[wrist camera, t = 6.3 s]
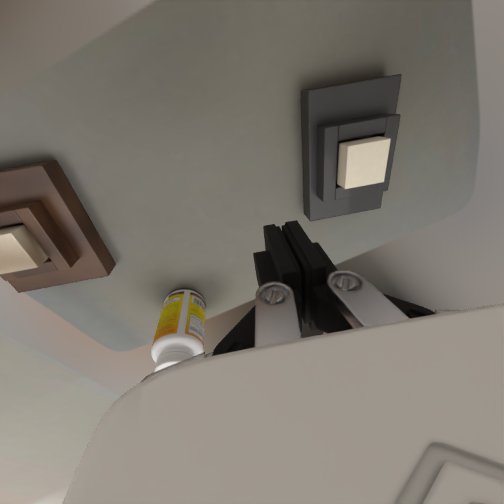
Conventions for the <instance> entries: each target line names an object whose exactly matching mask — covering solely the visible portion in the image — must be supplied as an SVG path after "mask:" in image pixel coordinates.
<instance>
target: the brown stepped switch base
mask: <svg viewBox="0 0 504 504" xmlns="http://www.w3.org/2000/svg"><path fill="white" fill-rule="evenodd" d="M23 224H25V226H26V227H27V228H28V230H29V231H30V232H31V234H32V235H33V236H34V238H35V239H36V240H37V242H38V243H39V244H40V246H41V247H42V249H43V250H44V251H45V253H46V254H47V255H48V257H49V258H48V259H47V260H46V261H44V262H43V263H42V264H41V265H40V266H39V267H37V268H32V269H27V270H21V271H16V272H11V273H5V274H0V276H1V277H2V278H3V279H4V280H5V281H8V282H9V283H10V284H11V285H12V286H13V287H14V288H15V289H16V290H17V291H18V292H19V293H20V292H26V291H31V290H36V289H41V288H47V287H52V286H57V285H62V284H68V283H73V282H78V281H83V280H89V279H94V278H99V277H104V276H109V274H110V273H111V271H112V270H113V268H114V267H115V265H116V264H115V262H114V261H113V259H112V257H111V255H110V254H109V252H108V250H107V248H106V246H105V245H104V243H103V241H102V239H101V238H100V236H99V234H98V232H97V231H96V229H95V227H94V225H93V224H92V222H91V220H90V218H89V217H88V215H87V213H86V211H85V210H84V208H83V206H82V204H81V202H80V201H79V199H78V197H77V195H76V194H75V192H74V190H73V188H72V187H71V185H70V183H69V181H68V180H67V178H66V176H65V174H64V173H63V171H62V169H61V167H60V166H59V164H58V162H57V160H54V161H49V162H43V163H37V164H32V165H26V166H21V167H15V168H9V169H4V170H0V229H2V228H7V227H12V226H18V225H23Z"/></svg>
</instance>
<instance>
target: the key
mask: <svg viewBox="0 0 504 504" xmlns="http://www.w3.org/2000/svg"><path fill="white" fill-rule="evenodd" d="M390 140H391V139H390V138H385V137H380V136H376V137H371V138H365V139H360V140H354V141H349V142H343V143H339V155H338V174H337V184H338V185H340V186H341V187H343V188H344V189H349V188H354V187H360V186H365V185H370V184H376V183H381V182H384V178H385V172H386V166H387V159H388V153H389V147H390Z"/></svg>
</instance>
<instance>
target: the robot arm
mask: <svg viewBox="0 0 504 504" xmlns="http://www.w3.org/2000/svg"><path fill="white" fill-rule="evenodd" d="M264 238H265V248H266V251H262V252H256V253H253V255H254V262H255V269H256V275H257V280H258V285H259V288H258V290H257V292H256V305H255V306H254V307H253V308H252V309H251V310H250V311H249V313H247V315H245V317H244V318H243V319H242V320H241V321H240V322H239V323H238V324H237V325H236V326H235V327H234V328H233V329H232V330H231V331H230V332H229V333H228V334H227V335H226V336H225V337H224V338H223V340H222V341H221V342H220V343H219V344H218V345H217V346H216V348H215V349H214V352H211V353H209V354H206V355H205V352H203V353H201V354H198V355H196V356H193V357H191V358H188V359H186V360H183V361H181V362H178V363H176V364H173V365H171V366H168V367H166V368H163V369H161V370H158V371H156V372H153V373H151V374H150V375H148V376H146V377H145V378H144V379H143V380H142V381H141V382H140V383H139V384H137V385H136V386H134V387H133V388H131V389H130V390H129V391H127V392H126V393H125V394H124V395H122V396H121V397H120V398H119V399H118V400H117V401H115V402H114V403H113V404H112V406H111V407H110V408H109V409H108V411H107V412H106V413H105V415H104V416H103V418H102V419H101V421H100V422H99V424H98V426H97V427H96V429H95V431H94V433H93V435H92V437H91V439H90V441H89V443H88V445H87V447H86V449H85V451H84V453H83V456H82V458H81V460H80V462H79V465H78V467H77V469H76V472H75V474H74V476H73V479H72V481H71V484H70V486H69V488H68V491H67V493H66V496H65V498H64V501H63V503H62V504H504V304H497V305H489V306H482V307H476V308H470V309H464V310H435V313H434V312H433V311H431V310H429V309H427V308H424V307H422V306H418V305H416V304H413V303H409V302H406V301H403V300H400V299H397V298H394V297H391V296H388V295H385V294H382V293H381V292H380V291H379V290H377V289H376V288H375V287H374V286H373V285H372V284H370V282H368V281H367V280H366V279H365V278H364V277H363V276H362V275H360V274H359V273H356V272H354V271H350V270H337V269H336V267H335V266H334V264H333V263H332V261H331V260H330V259H329V257H328V256H327V254H326V253H325V252H324V250H323V249H322V247H321V246H320V245H319V243H317V242H316V243H312V242H311V241H310V239H309V238H308V236H307V235H306V233H305V232H304V230H303V229H302V227H301V226H300V224H299V223H298V221H297V220H296V221H290V222H286V223H285V225H283V226H282V231H281V229H280V227H279V226H277V227H276V226H275V224H272V225H266V226H264ZM302 319H303V321H304V323H305V324H307V323H308V324H309V326H310V328H311V330H316V329H319V330H321V331H323V335H318V336H313V337H308V338H302V339H301V334H300V333H301V331H302Z"/></svg>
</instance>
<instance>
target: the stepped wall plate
mask: <svg viewBox="0 0 504 504" xmlns="http://www.w3.org/2000/svg"><path fill="white" fill-rule="evenodd" d="M401 76H402V75H401V74H399V75H393V76H387V77H381V78H375V79H369V80H364V81H358V82H352V83H346V84H341V85H335V86H329V87H323V88H318V89H312V90H306V91H301V124H302V160H303V196H304V214H305V216H306V217H307V218H308V219H309V221H315V220H320V219H325V218H331V217H336V216H341V215H346V214H352V213H357V212H362V211H368V210H373V209H378V208H380V207H381V201H382V194H383V191H386V190H388V186H389V180H390V174H391V168H392V162H393V156H394V151H395V145H396V139H397V133H398V127H399V121H400V114H395V113H396V107H397V101H398V94H399V88H400V82H401ZM376 136H380V137H385V138H390V139H391V140H390V147H389V153H388V159H387V166H386V172H385V178H384V182H381V183H376V184H370V185H365V186H360V187H354V188H349V189H344V188H343V187H341V186H340V185H338V184H337V174H338V155H339V143H343V142H349V141H354V140H360V139H365V138H371V137H376Z"/></svg>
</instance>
